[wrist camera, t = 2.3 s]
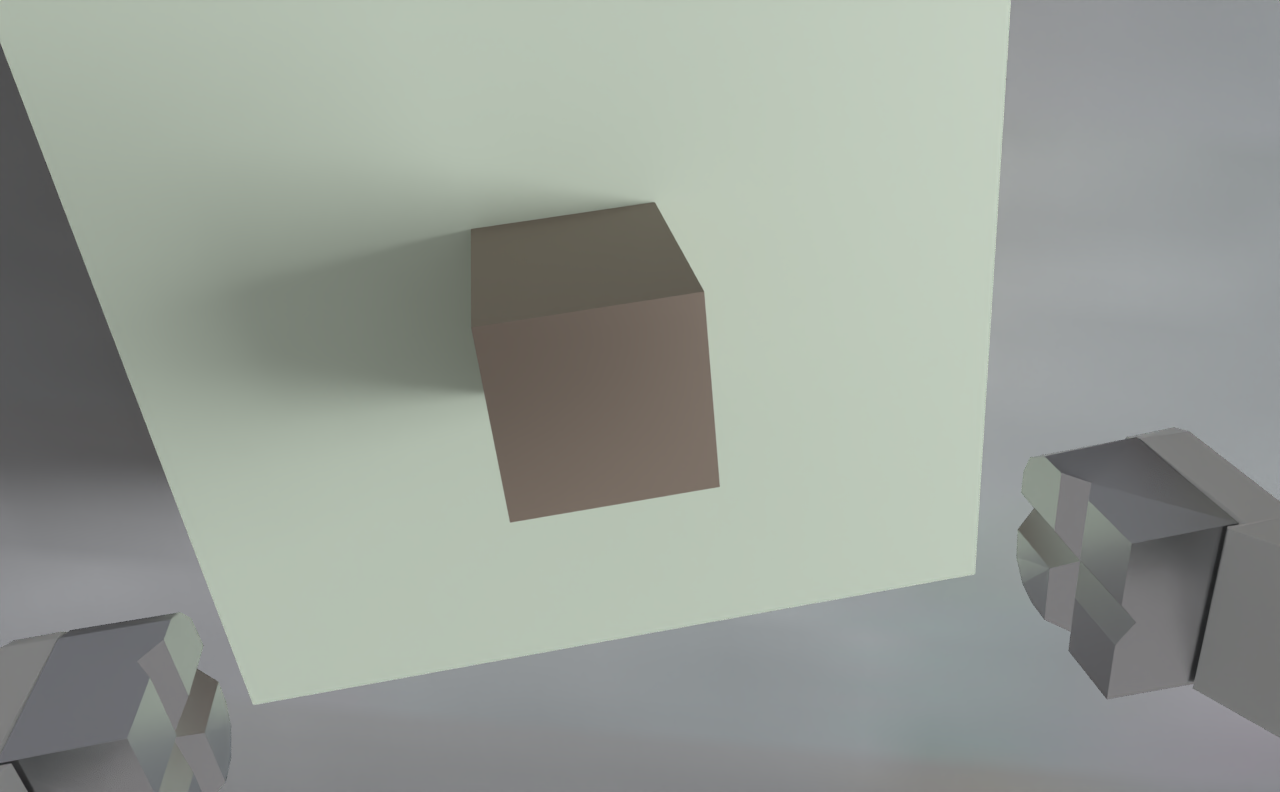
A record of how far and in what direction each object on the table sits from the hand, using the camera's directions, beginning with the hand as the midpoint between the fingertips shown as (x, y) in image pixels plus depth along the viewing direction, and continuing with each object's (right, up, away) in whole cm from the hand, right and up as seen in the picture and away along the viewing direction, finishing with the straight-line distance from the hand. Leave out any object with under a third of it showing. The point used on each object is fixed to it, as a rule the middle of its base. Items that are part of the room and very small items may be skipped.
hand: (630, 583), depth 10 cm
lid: (-1, +4, +8) cm, 9 cm away
